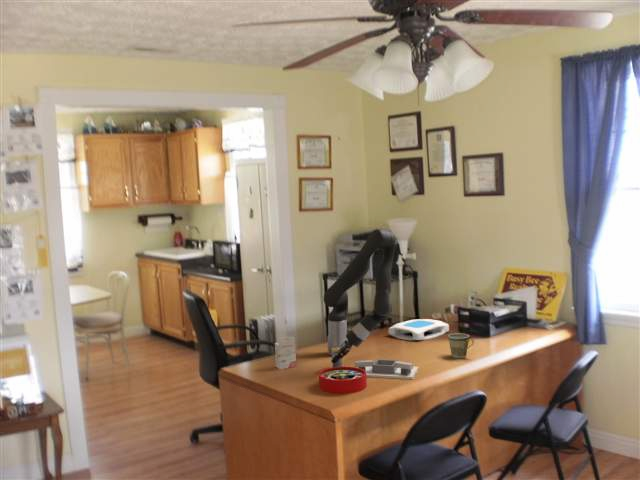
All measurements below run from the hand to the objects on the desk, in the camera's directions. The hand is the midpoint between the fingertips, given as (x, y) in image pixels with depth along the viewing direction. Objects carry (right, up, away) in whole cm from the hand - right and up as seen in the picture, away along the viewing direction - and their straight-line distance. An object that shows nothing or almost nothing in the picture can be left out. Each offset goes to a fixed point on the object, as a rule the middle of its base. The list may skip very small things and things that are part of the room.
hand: (332, 360), depth 302 cm
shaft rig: (+23, -4, -7) cm, 25 cm away
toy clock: (+4, -7, -25) cm, 26 cm away
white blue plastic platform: (+49, +3, +63) cm, 80 cm away
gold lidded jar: (+2, -4, 0) cm, 5 cm away
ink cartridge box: (-22, -5, +8) cm, 24 cm away
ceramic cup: (+62, -1, +14) cm, 63 cm away
